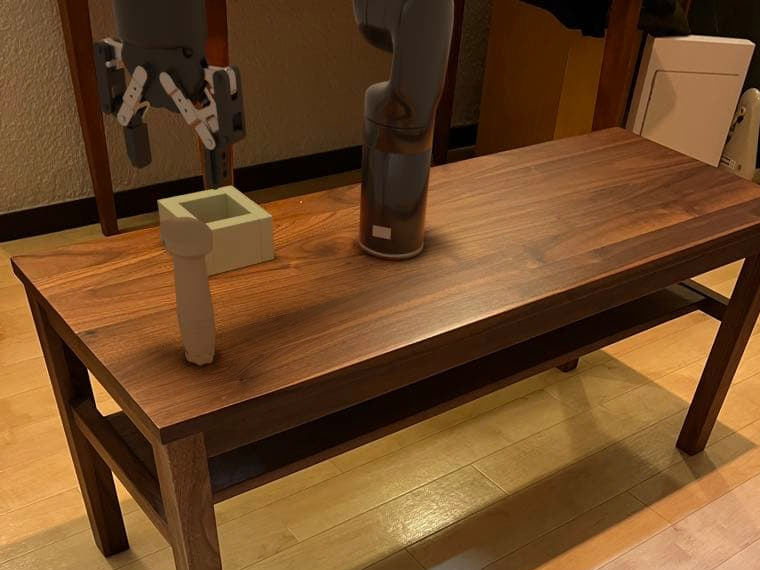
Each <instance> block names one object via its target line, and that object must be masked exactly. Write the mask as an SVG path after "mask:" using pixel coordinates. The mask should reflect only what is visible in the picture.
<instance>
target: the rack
mask: <svg viewBox="0 0 760 570" xmlns="http://www.w3.org/2000/svg"><path fill="white" fill-rule="evenodd" d="M157 207H158V213H159V214H158V216H159V223H160V222H162V221H164V220H167V219H170V218H176V217H191V218H194V219H197V220H199V221H202V222H204V223H205V224H206V225H207V226H208V227H209V228H210V229H211V230H212V234H213V250H212V251H211V252H209V253H208V254H206V255H205V260H206V267H207V273H208V277H210V276H214V275H218V274H220V273H221V274H223V273H226V272H229V271H233V270H237V269H241V268H245V267H248V266H253V265H257V264H261V263H264V262H269V261H272V260H275V247H274V245H275V244H274V219H273V215H271V214H270V213H269V212H268V211H267V210H265V209H264V208H262V206H260V205H258V204H257V203H256V202H255V201H253V200H251V198H249V197H248V196H246V195H245V194H244V193H243V192H241V191H240V190H238V189H237V188H236V187H235V186H233V185H227V186H222V187H220V188H218V189H217V190H213V189H205V190H201V191H196V192H192V193H186V194H182V195H175V196H171V197H167V198H161V199H157Z"/></svg>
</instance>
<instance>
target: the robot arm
mask: <svg viewBox="0 0 760 570" xmlns="http://www.w3.org/2000/svg"><path fill="white" fill-rule="evenodd" d="M351 1H352V10H353V15H354V20H355V24H356V27H357V29H358V32H359V34H360V36H361V37H362V38H363V40H364V41H365V42H366V43H367V44H368V45H370V46H371V47H373V48H375V49H377V50H379V51H381V52H384V53H386V54H389V55H392V61H391V67H390V68H391V70H390V76H389V80H387V81H386V80H385V81H381V82H377V83H373V84H372V85H370V86H369V87H368V88H367V89H366V90H365V94H364V99H363V117H362V118H363V120H362V121H363V123H362V148H361V169H360V171H361V173H360V197H359V198H360V199H359V218H358V219H359V220H358V221H359V222H358V236H357V245H358V247H359V248H360V249H361V251H363V252H364V253H366V254H367V255H370V256H373V257H376V258H379V259H385V260H394V261H395V260H407V259H410V258H414V257H416V256H418V255H419V254H421V253H422V251H423V250H424V243H425V242H424V236H425V228H426V227H425V226H426V217H427V207H428V195H429V186H430V185H429V184H430V176H431V167H432V158H433V157H432V156H433V146H434V145H433V144H434V136H435V124H436V115H437V110H438V105H439V104H440V101H441V98H442V96H443V93H444V89H445V84H446V79H447V78H446V77H447V73H448V72H447V70H448V65H449V58H450V52H451V45H452V38H453V31H454V22H455V1H454V0H351ZM111 5H112V11H113V18H114V23H115V30H116V34H117V36H118V37H117V36H110V37H106V38H103V39H100V40H97V41H94V42H93V44H92V51H93V59H94V67H95V73H96V74H95V75H96V76H95V77H96V82H97V90H98V91H97V92H98V100H99V106H100V109H101V111H102V112H103V114H105V115H106V116H109V115H112V116H113V117H114V118H116V119H117V121H118V123H119V124H120V125H121V126H122V130H123V136H124V142H125V147H126V155H127V158H128V159H129V160H130V164H131V166H132V167H133V168H136V169H139V170H142V169H144V168H146V167H148V166H149V165H151V163H152V160H153V158H152V149H151V142H150V136H149V128H148V122H145V121H143V120H144V119H145V116H146V114H147V112H148V111H149V110H150V107H151V108H155V109H160V108H161V109H162V108H164V109H166V110H167V111H169V112H171V113H174V114H179V115H180V114H181V115H182V117H183V118H184V120H185V122H186V123H187V125H188V126H189V127H192V128H193V129H194V130H195V131H196V133H197V134H198V137H199V138H200V140H201V141H202V143H203V145H204V146H205V147H203V149H202V151H203V160H204V170H205V171H204V172H205V182H206V183H205V184H206V187H207V189H209V190H211V189H213V190H217V189H218V188H222V187H225V185H226V182H227V181H229V179H230V165H229V162H230V161H229V148H230V147H231V146H233V145H235V144H236V143H238V142H240V141H242V140H244V139H245V138H246V137H247V127H246V115H245V106H244V95H243V88H242V87H243V86H242V76H241V71H240V69H239V67H238V66H237V65H236V64H232V65H228V66H225V67H221V66H215V65H210V64H211V63H210V62H209V59H208V57H207V53H206V44H207V40H208V23H207V22H208V21H207V11H206V0H111ZM120 39H121V40H122V42H121V40H120ZM125 69H126V70H127V72H128V73H129V75H130V77H131V80H130V82H129V84H128V86H127V83H126V82H127V81H126V72H125V71H126V70H125ZM208 85H210V89H208V87H207V86H208ZM212 95H214V98H213V96H212ZM198 103H199V104H200V106H201V109H197V108H196V106H197V104H198Z"/></svg>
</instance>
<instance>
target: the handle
mask: <svg viewBox="0 0 760 570" xmlns="http://www.w3.org/2000/svg"><path fill="white" fill-rule="evenodd" d="M158 231H159V237H160V242H161V244H162V247H163V249H164V250H165V251H166V252H167V253H170V254H171V257H172V265H173V277H174V291H175V305H176V316H177V322H178V323H177V324H178V328H179V333H180V338H181V342H182V345H183V348H184V349H185V350H184V355H185V359H186V360H187V361H188V363H193V364H196V365H197V366H203V365H205V364H211V363H213V361H214V356H215V351H216V350H215V349H216V345H215V344H216V323H215V310H214V304H213V299H212V291H211V287H210V280H209V276H208V273H207V267H206V260H205V255H206V254H208V253H209V252H211V251H212V250H213V234H212V230H211V229H210V228H209V227H208V226H207V225H206V224H205V223H204V222H202V221H199V220H197V219H194V218H191V217H176V218H170V219H167V220H164V221H162V222H160V221H159V227H158Z"/></svg>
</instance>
